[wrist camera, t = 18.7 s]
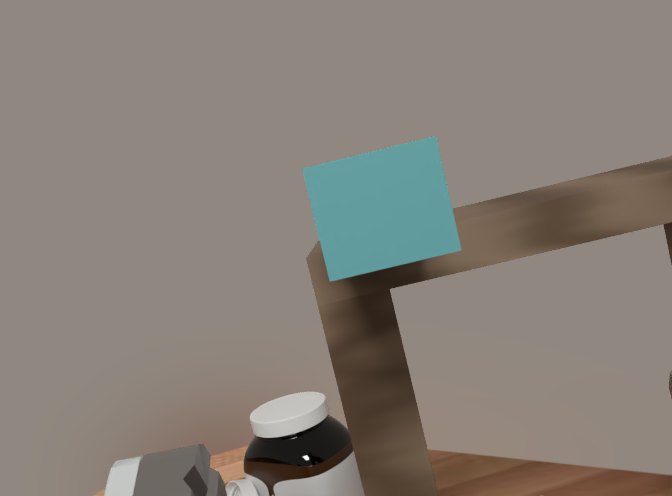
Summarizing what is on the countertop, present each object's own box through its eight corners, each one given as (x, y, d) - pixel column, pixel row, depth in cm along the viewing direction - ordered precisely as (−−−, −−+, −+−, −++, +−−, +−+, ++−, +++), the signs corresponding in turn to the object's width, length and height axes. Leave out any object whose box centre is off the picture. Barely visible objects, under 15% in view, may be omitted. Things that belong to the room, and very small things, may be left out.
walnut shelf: (786, 582, 37) (701, 148, 35) (955, 731, 27) (848, 128, 25) (420, 660, 38) (318, 240, 36) (448, 833, 27) (306, 258, 25)
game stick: (400, 218, 38) (385, 154, 38) (471, 248, 16) (436, 94, 16) (336, 234, 38) (320, 169, 38) (320, 284, 16) (283, 132, 16)
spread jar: (388, 514, 56) (358, 389, 55) (311, 596, 47) (273, 448, 46) (288, 500, 63) (260, 390, 62) (204, 569, 54) (170, 440, 53)
